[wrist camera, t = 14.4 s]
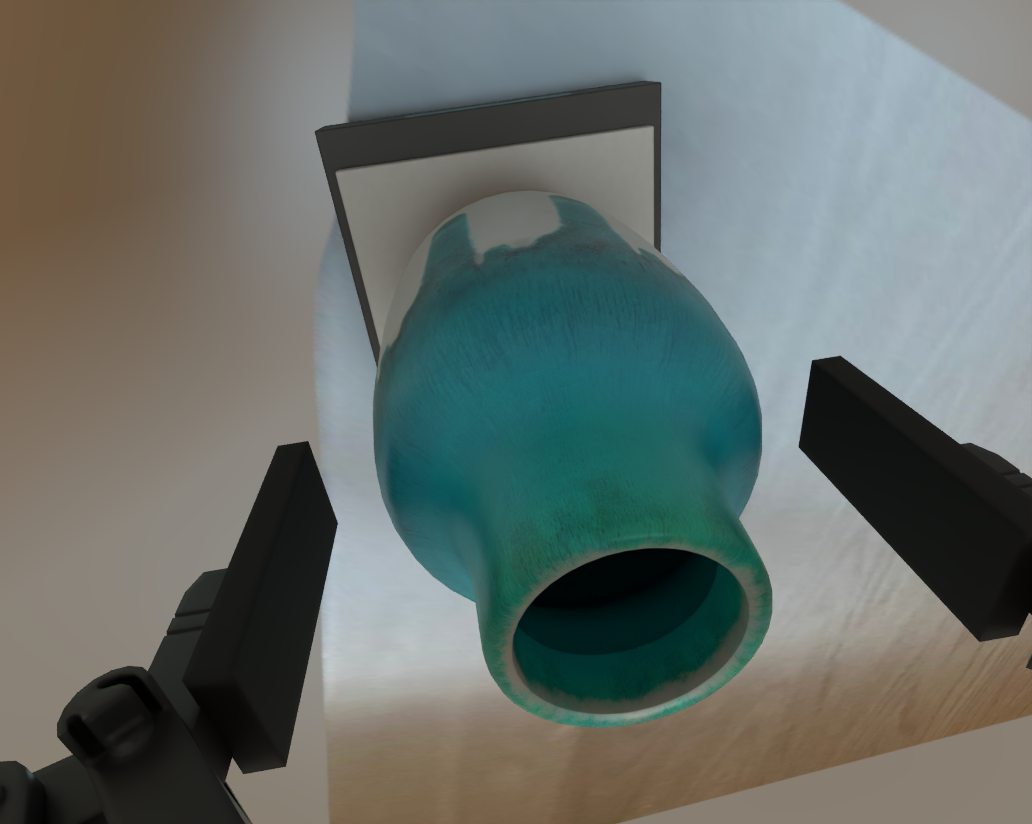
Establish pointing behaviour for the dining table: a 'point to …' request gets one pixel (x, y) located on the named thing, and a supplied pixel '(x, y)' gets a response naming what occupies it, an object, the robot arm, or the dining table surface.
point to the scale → (486, 172)
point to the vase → (574, 458)
